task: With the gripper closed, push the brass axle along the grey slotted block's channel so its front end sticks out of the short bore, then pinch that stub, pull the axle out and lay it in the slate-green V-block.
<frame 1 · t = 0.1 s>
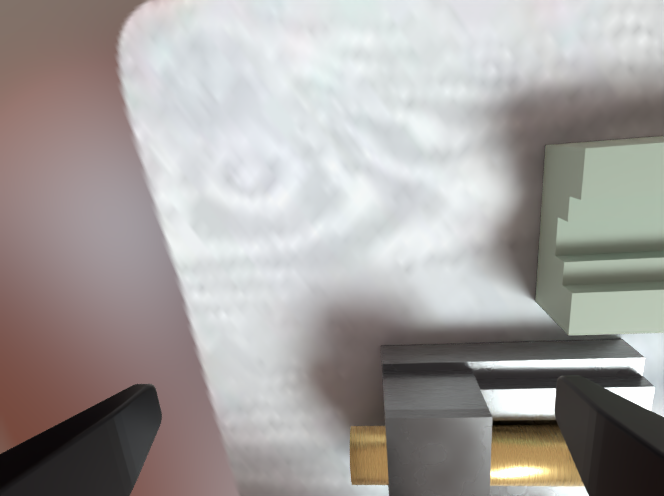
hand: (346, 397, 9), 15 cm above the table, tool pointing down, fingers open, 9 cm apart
grey slotted block: (495, 412, 25), on the table
axle: (477, 454, 22), point 3 cm above the table, touching grey slotted block
v block: (658, 220, 21), on the table
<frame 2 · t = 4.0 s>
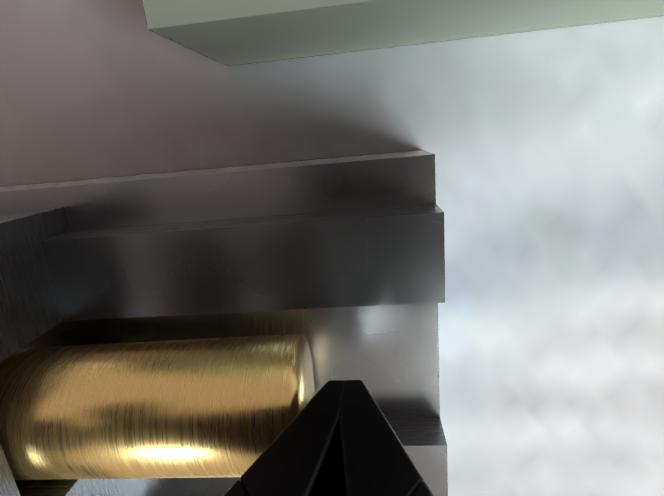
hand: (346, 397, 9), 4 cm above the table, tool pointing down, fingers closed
grey slotted block: (205, 329, 13), on the table
axle: (24, 409, 10), point 4 cm above the table, tilted 9°, touching grey slotted block, gripper
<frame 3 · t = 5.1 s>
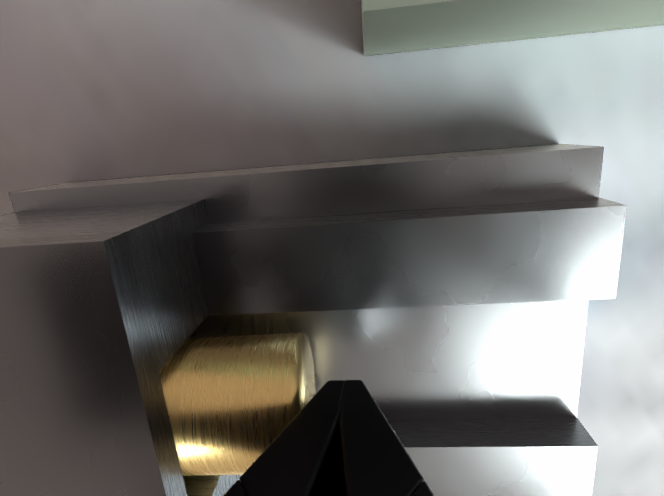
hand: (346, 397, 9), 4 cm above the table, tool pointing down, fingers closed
grey slotted block: (314, 326, 13), on the table
axle: (28, 409, 10), point 3 cm above the table, tilted 9°, touching grey slotted block, gripper
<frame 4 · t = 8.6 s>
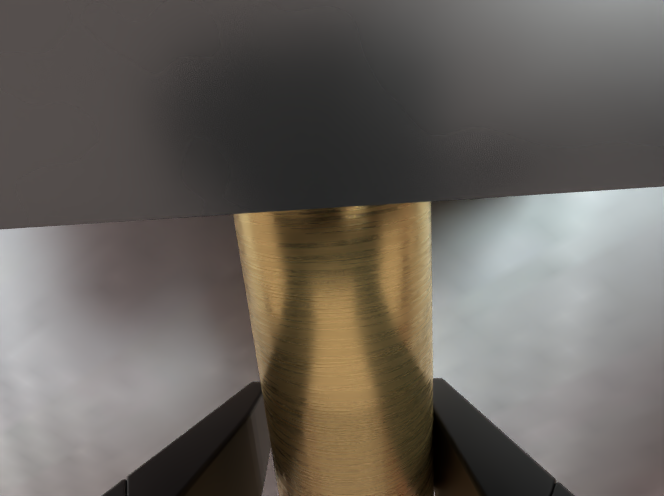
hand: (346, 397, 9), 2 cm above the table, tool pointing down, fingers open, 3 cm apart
axle: (328, 170, 6), point 4 cm above the table, tilted 8°, touching grey slotted block, gripper
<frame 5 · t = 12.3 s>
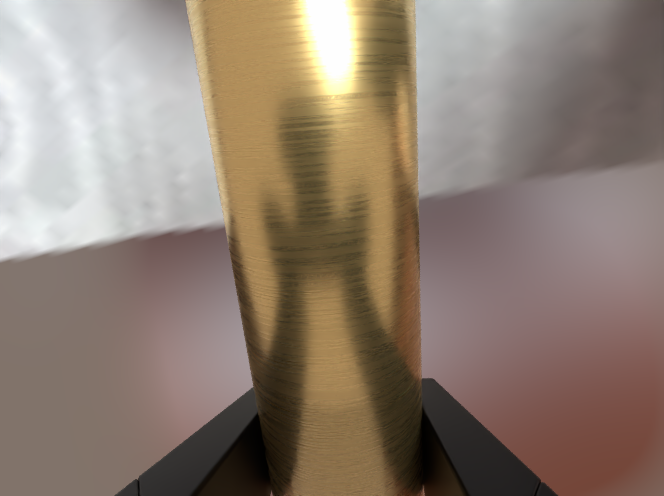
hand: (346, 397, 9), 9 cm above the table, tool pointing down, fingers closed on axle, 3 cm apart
axle: (318, 173, 6), point 11 cm above the table, touching gripper
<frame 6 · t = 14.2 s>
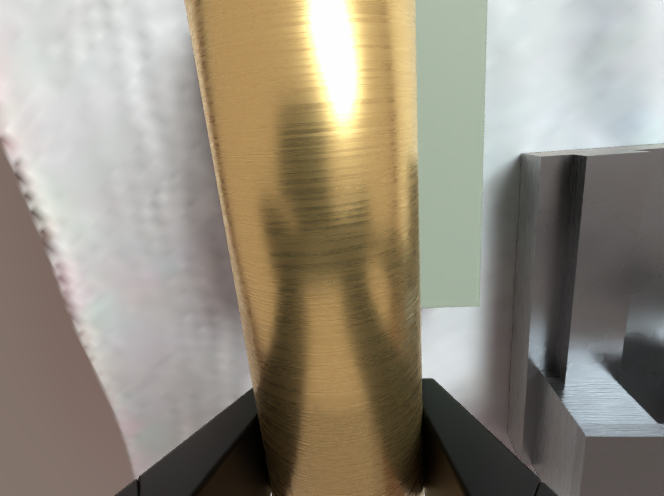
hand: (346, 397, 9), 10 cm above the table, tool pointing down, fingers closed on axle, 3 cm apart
grey slotted block: (629, 304, 18), on the table
axle: (318, 178, 6), point 12 cm above the table, touching gripper
v block: (352, 141, 17), on the table
when the fingers open (4 cm above the table, at t = 15.7 s): axle drops 2 cm, resting on v block.
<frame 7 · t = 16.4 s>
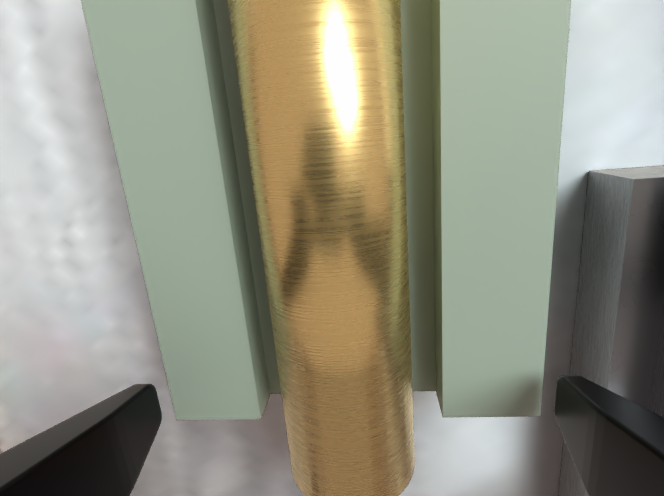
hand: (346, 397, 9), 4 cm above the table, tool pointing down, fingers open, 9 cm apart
axle: (328, 168, 8), point 4 cm above the table, touching v block
v block: (341, 154, 12), on the table
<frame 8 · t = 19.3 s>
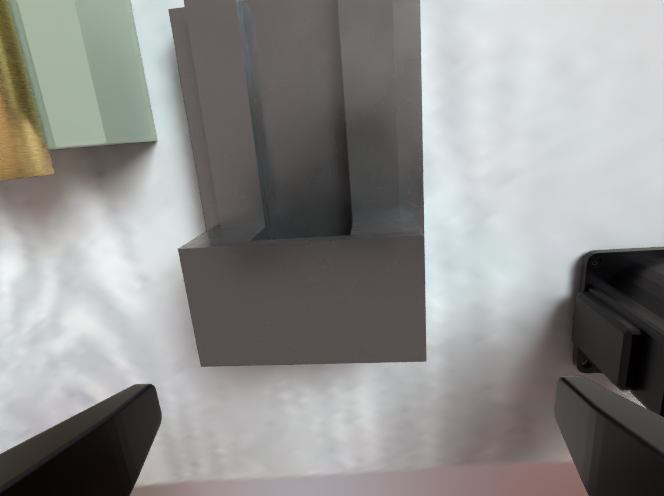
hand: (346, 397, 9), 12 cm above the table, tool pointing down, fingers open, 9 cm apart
grey slotted block: (313, 170, 19), on the table
v block: (41, 15, 19), on the table
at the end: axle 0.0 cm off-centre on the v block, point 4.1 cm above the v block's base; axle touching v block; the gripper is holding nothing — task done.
